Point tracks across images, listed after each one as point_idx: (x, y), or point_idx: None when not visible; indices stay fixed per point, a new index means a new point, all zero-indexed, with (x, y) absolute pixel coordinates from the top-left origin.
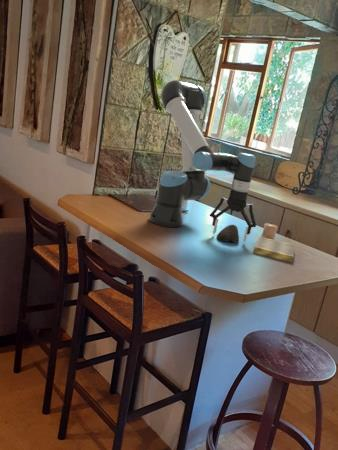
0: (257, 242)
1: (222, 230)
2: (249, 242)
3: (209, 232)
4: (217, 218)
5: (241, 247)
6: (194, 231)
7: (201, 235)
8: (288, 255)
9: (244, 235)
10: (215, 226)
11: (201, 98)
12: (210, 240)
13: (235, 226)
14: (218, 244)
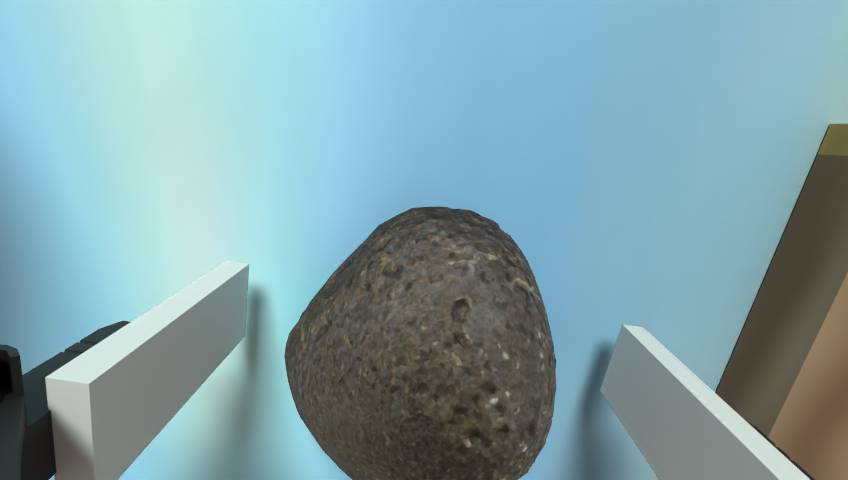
0: (783, 436)
1: (313, 431)
2: (694, 236)
3: (181, 163)
4: (61, 384)
5: (560, 463)
6: (16, 258)
7: None
8: None
9: (638, 446)
10: (180, 399)
11: None
12: (248, 449)
13: (508, 476)
14: None
